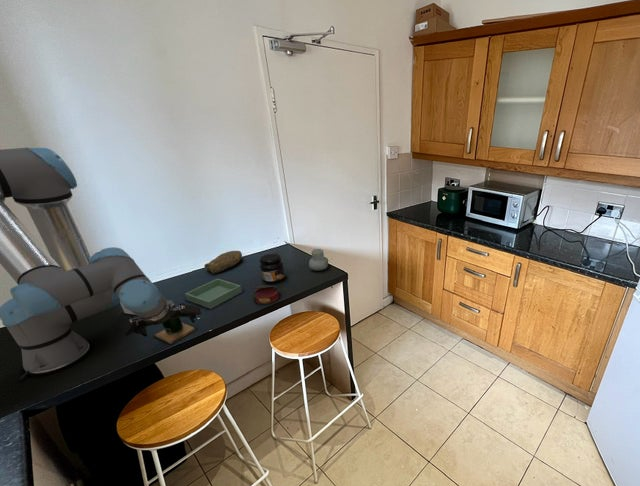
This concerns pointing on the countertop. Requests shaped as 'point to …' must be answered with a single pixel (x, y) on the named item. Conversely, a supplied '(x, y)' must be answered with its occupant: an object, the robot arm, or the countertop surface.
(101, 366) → the countertop surface
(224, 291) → the bin
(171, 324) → the beer can
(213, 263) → the brown oval lump
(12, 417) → the countertop surface
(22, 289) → the robot arm
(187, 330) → the coaster
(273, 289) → the canned food
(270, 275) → the supplement container
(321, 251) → the air freshener
